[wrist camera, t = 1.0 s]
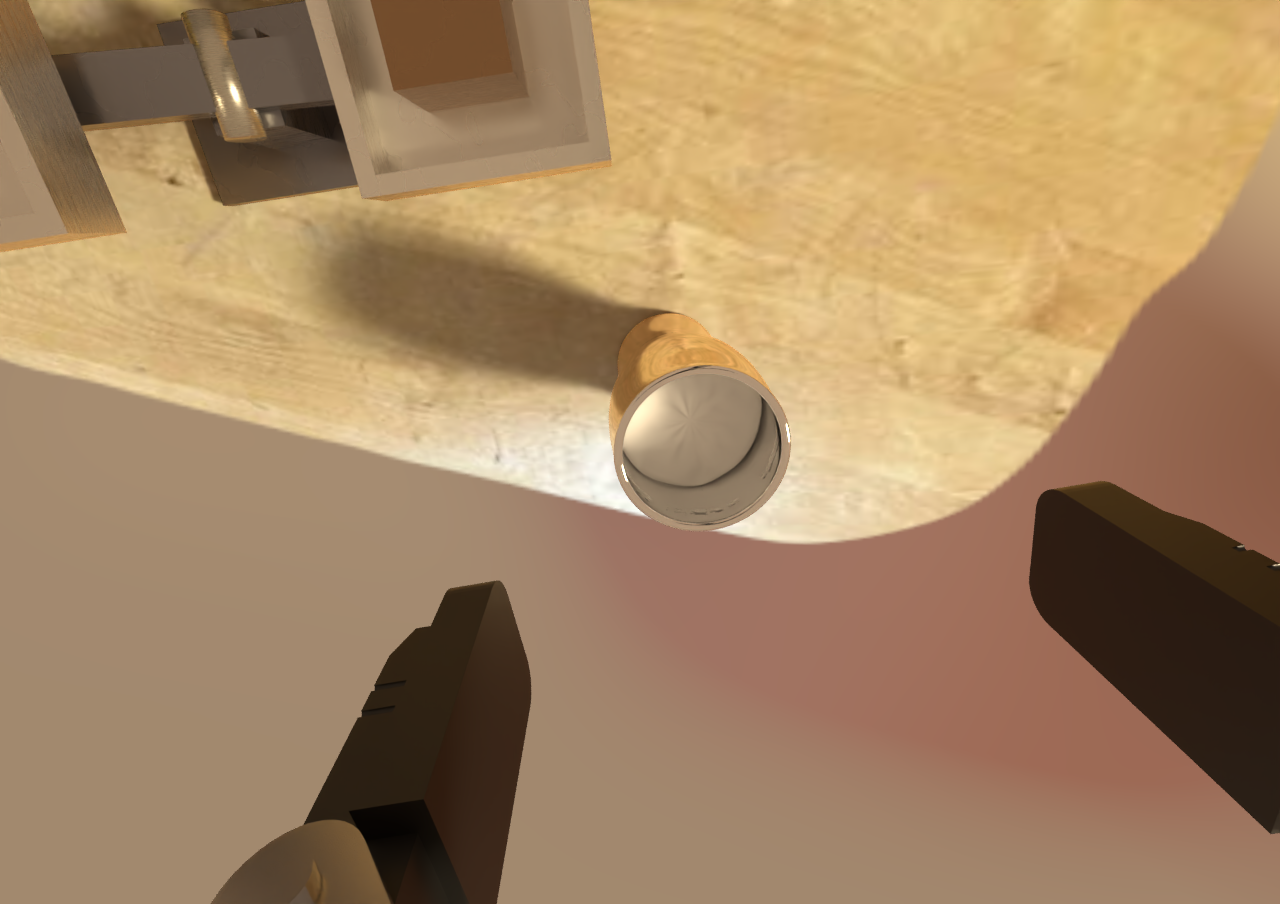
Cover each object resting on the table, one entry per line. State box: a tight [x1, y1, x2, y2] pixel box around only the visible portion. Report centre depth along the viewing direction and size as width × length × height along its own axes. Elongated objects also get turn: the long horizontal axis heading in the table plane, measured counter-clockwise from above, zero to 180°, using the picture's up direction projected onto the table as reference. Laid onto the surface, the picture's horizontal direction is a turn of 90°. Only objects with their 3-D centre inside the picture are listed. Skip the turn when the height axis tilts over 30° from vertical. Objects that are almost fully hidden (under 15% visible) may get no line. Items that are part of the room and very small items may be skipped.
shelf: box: [0, 0, 612, 252], centre depth 25 cm, size 11×31×11 cm, turn 98°
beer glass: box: [609, 313, 791, 531], centre depth 29 cm, size 7×7×15 cm
